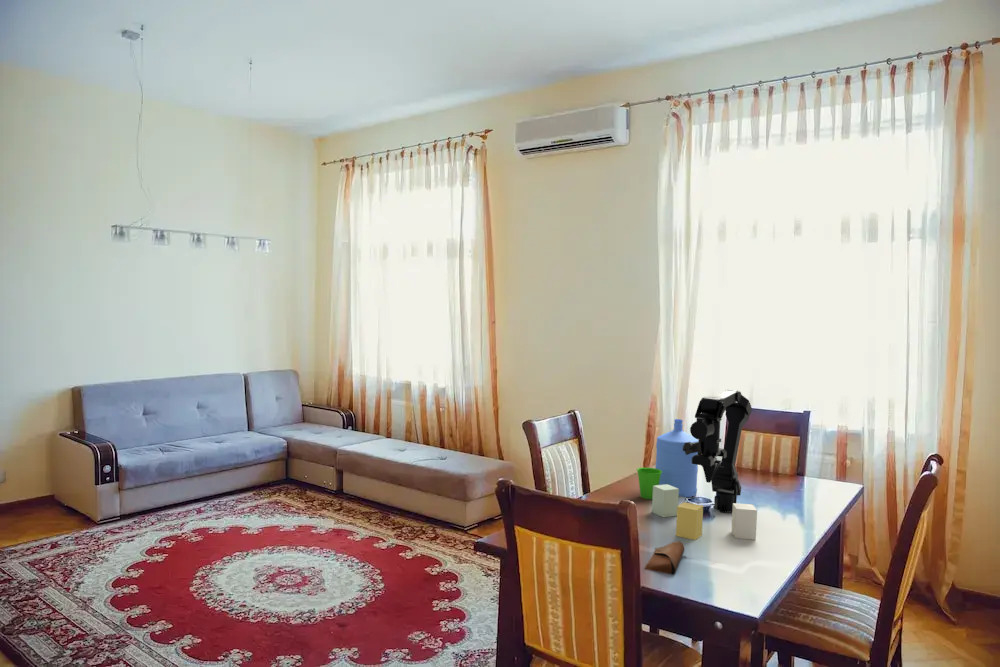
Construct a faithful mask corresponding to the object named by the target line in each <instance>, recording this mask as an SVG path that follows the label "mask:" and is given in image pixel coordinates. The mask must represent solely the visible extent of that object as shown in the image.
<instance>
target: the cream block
mask: <svg viewBox="0 0 1000 667" xmlns="http://www.w3.org/2000/svg"><path fill="white" fill-rule="evenodd" d="M757 517H758V509H757V508H756V507H755V505H754V504H750V503H749V504H748V503H739V502H738V503H737V502H736V503H733V509H732V512H731V534H732V536H733V537H734V539H739V540H740V539H741V540H752V541H753V540H755V541H756V539H757V523H758V520H757V519H758V518H757Z"/></svg>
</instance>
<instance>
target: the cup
mask: <svg viewBox="0 0 1000 667" xmlns="http://www.w3.org/2000/svg"><path fill="white" fill-rule="evenodd" d="M636 471H637V477H638V485H639V493H640V494H639V495H640V498H642V499H644V500H653V486H655V485H659V481H660V476H661V473H662V471H661V470H659V469H655V467H639V468H637V469H636Z"/></svg>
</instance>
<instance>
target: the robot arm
mask: <svg viewBox="0 0 1000 667" xmlns="http://www.w3.org/2000/svg"><path fill="white" fill-rule="evenodd" d="M752 407H753V406H752V405H751V402H750V401H749V399H748V398H746V397H745V396H744V395H743V394H742V392H741V391H740V390H737V389H736V390H734V389H725V390H724V391H723V392H721V393H720V394H717V395H715V396H703V397H701V399H700V400H699V402H698V405H697V408H696V412H695V415H694V418H695V419H696V421H695V422H692V424H691V425H690V428H689V432H690V435H691V436H693V437H694V438H696V439H698V441H699V442H694V443H691V442H686V443H684V446H683V451H685V454H686V455H689V454H690V453H695V452H698V454H696V455H695V456H693V457H692V464H696V465H698V466H701V467H702V470H703V473H704V478H705V482H706V483H708V484H709V483H711V490H712V492H715V495H714V497H713V498H714V500H713V501H714V503H715V504H714V503H713V508H714V509H715V510H717V511H718V512H720V513H732V509H733V503H737V497H738V496H741V492H742V486H741V483H740V481H739V474H738V471H737V468H736V462H737V458H738V451H739V445H740V440H741V435H742V429H743V427H744V425H746V423H747V422H748V421H749V419H750V415H752V411H753V410H752V409H753V408H752ZM724 413H725V417H726V420H727V422H728V425H727V430H726V436H725V440H724V446H723V448H720V443H721V442H722V438H720V436H721V421H722V418H723V416H724ZM717 457H721V460H718V458H717Z"/></svg>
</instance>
